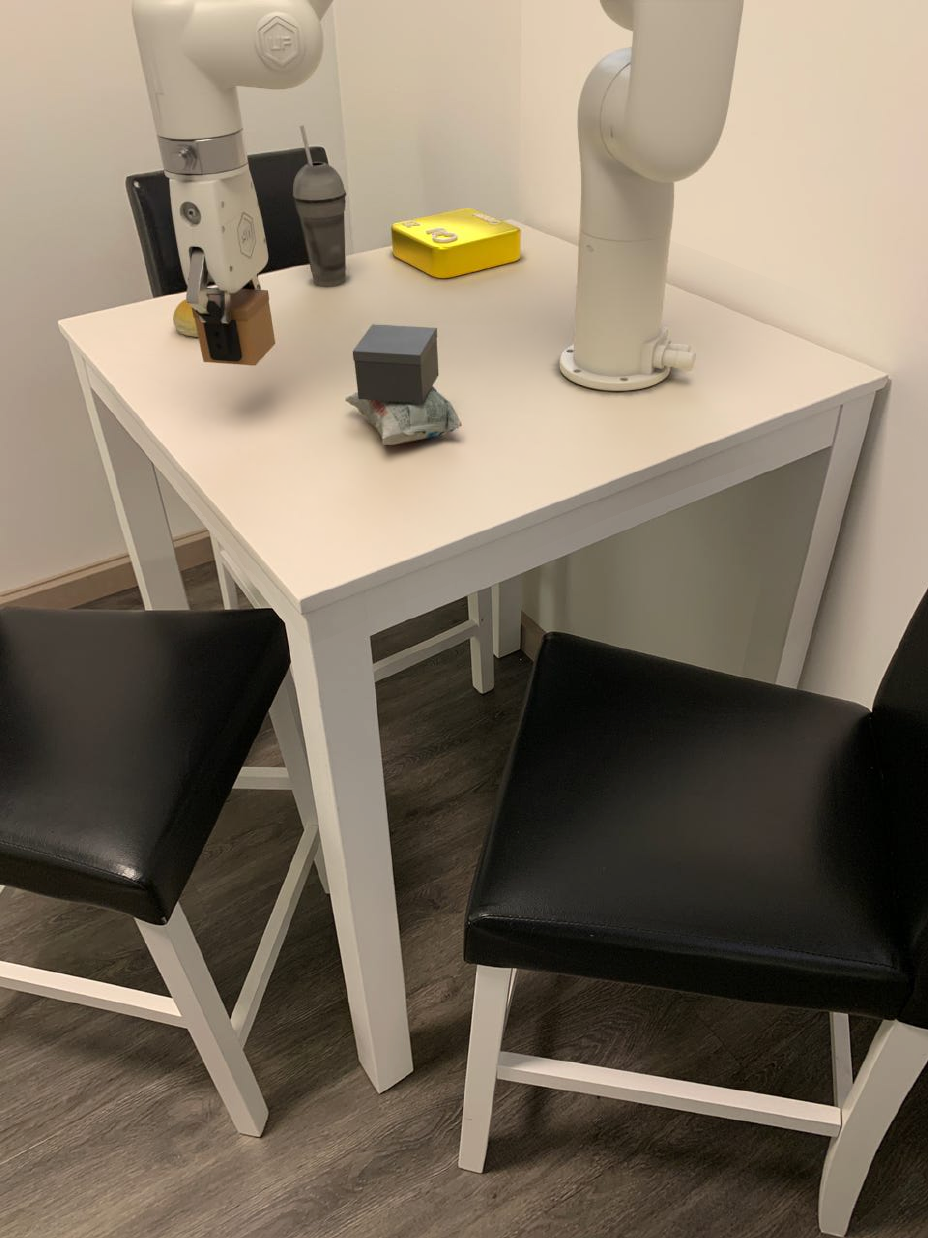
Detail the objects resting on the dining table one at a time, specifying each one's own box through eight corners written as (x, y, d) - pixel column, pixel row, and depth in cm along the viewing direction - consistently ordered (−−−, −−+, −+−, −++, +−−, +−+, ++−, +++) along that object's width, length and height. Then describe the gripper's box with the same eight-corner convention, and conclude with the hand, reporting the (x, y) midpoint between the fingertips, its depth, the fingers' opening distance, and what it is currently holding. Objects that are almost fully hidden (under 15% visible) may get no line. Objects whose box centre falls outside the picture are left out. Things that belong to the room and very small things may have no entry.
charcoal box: (439, 374, 96) (436, 327, 93) (423, 404, 91) (420, 355, 88) (376, 370, 97) (372, 323, 94) (357, 399, 92) (352, 350, 89)
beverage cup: (352, 289, 130) (335, 130, 117) (300, 290, 130) (278, 132, 117) (357, 271, 135) (342, 118, 123) (308, 272, 136) (287, 119, 123)
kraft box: (276, 343, 97) (268, 289, 94) (255, 366, 93) (246, 310, 89) (225, 340, 98) (215, 286, 95) (202, 362, 94) (191, 307, 90)
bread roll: (168, 324, 122) (161, 294, 119) (233, 309, 125) (228, 280, 123) (187, 345, 116) (180, 313, 114) (255, 329, 119) (249, 298, 117)
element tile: (526, 259, 137) (526, 225, 134) (439, 281, 131) (438, 246, 128) (470, 234, 147) (469, 202, 144) (387, 253, 141) (385, 220, 138)
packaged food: (383, 464, 92) (380, 418, 88) (346, 414, 100) (341, 371, 97) (464, 445, 94) (464, 400, 91) (421, 399, 103) (419, 356, 100)
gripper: (202, 179, 76) (241, 385, 88) (277, 132, 89) (302, 317, 101) (119, 177, 78) (167, 380, 89) (205, 131, 91) (237, 313, 102)
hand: (239, 344), depth 95 cm, fingers closed on kraft box, 5 cm apart
